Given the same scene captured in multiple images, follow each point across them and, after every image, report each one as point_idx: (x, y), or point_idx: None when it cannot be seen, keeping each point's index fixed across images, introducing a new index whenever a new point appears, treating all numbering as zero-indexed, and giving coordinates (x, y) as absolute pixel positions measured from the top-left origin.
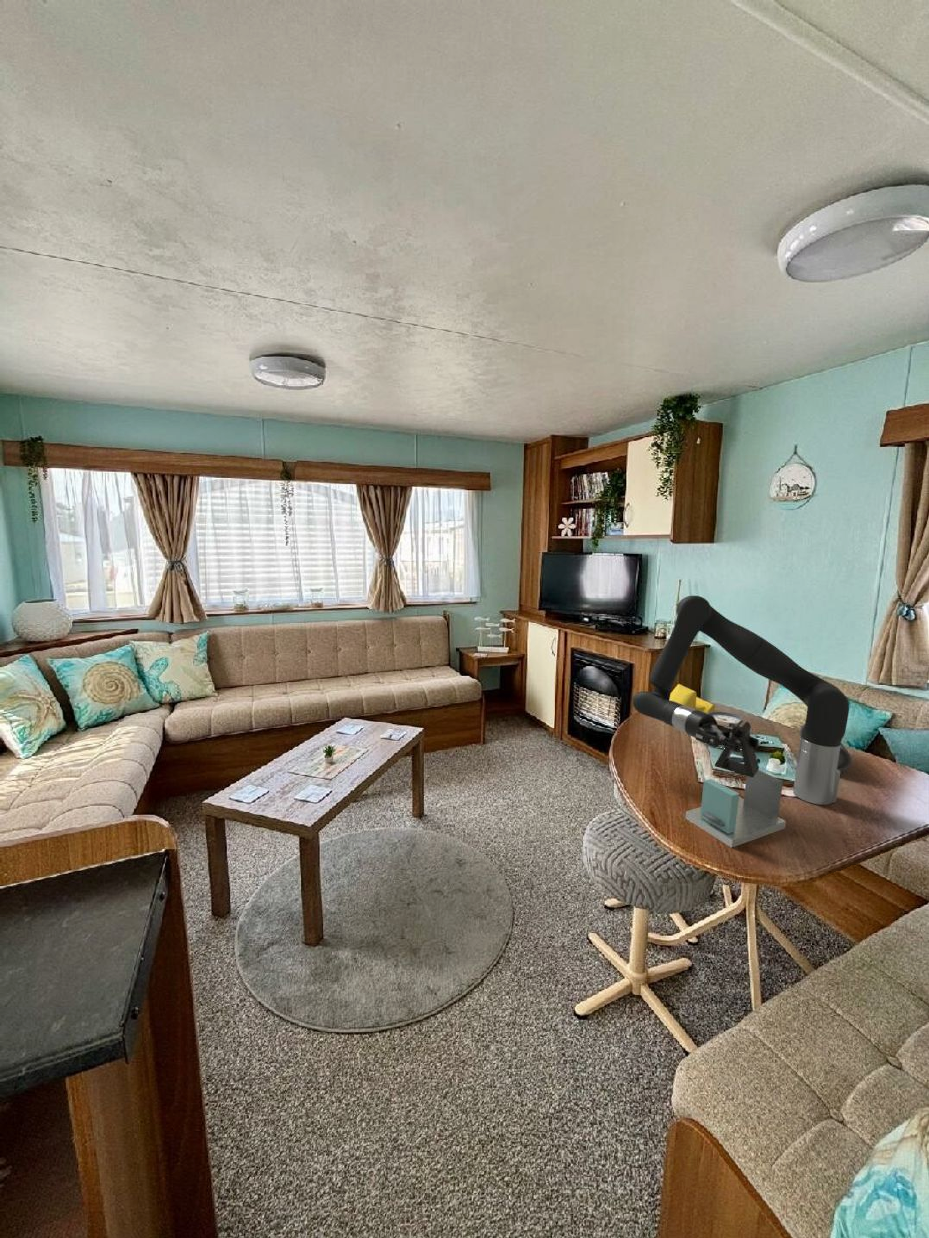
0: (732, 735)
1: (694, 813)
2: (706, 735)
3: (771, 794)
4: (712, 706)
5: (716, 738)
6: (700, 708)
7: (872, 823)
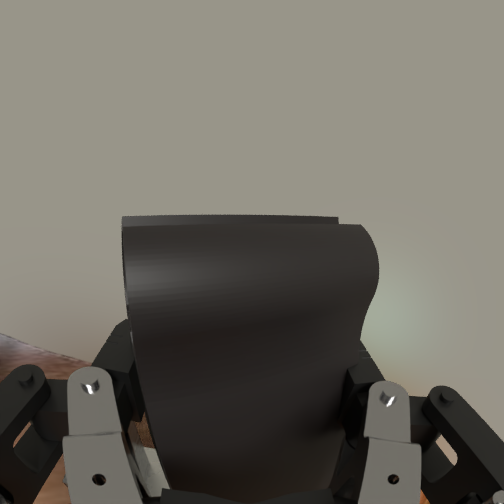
0: (360, 317)
1: None
2: (495, 441)
3: (134, 438)
4: None
5: (447, 388)
6: None
7: (11, 364)
